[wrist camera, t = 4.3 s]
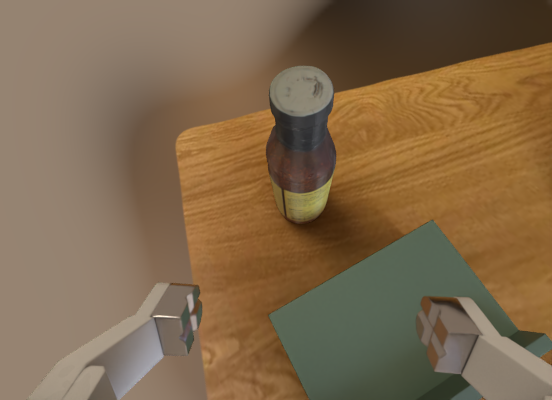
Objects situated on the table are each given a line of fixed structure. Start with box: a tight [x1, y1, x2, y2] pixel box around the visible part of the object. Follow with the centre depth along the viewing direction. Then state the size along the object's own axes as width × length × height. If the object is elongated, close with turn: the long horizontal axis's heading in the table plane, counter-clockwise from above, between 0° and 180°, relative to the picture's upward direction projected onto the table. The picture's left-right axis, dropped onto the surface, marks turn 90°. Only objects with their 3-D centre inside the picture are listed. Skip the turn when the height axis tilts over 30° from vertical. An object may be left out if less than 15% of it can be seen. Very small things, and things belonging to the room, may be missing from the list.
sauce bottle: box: [266, 66, 336, 223], centre depth 26 cm, size 6×6×20 cm
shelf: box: [268, 220, 552, 400], centre depth 26 cm, size 18×12×10 cm, turn 118°
